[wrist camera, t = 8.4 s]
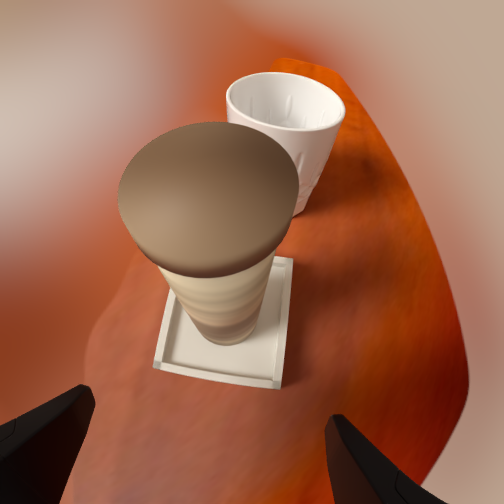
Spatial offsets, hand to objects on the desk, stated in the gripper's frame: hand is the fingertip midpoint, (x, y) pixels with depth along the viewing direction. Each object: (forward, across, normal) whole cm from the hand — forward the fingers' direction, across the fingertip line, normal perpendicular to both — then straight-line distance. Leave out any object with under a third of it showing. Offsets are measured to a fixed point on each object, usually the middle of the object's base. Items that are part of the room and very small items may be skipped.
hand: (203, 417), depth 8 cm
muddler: (+10, 0, +1) cm, 10 cm away
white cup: (+19, -3, -6) cm, 20 cm away
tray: (+11, 0, +2) cm, 11 cm away
